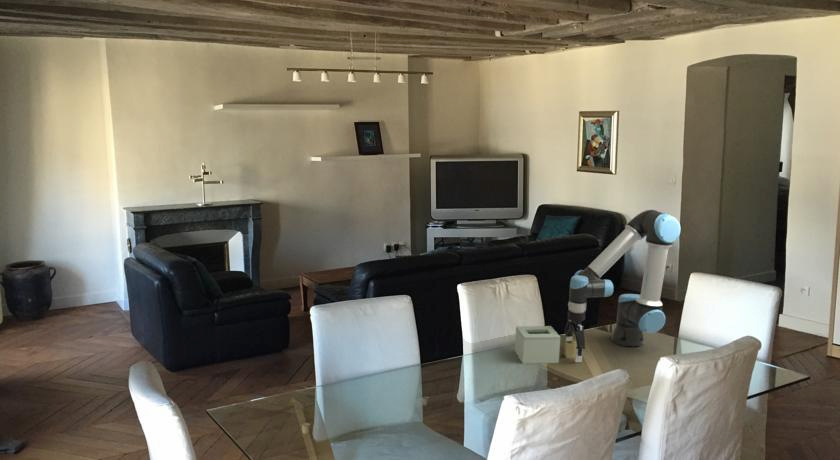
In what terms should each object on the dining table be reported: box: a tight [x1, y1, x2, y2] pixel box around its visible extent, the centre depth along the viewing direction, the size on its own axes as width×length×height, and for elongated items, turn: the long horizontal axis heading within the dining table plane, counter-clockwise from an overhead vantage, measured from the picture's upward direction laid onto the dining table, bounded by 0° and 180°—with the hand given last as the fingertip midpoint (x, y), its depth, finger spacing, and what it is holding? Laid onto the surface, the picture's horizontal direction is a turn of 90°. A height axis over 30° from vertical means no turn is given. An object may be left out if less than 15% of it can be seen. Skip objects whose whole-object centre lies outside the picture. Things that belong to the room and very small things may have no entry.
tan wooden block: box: [564, 340, 577, 359], centre depth 321 cm, size 7×3×7 cm, turn 97°
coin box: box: [514, 325, 561, 365], centre depth 318 cm, size 16×14×12 cm
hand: (573, 356), depth 321 cm, fingers open, 13 cm apart
